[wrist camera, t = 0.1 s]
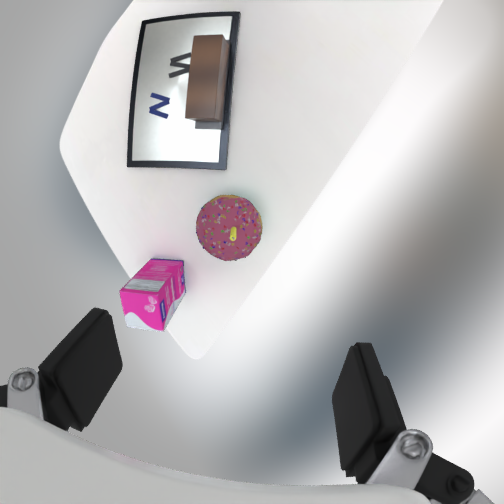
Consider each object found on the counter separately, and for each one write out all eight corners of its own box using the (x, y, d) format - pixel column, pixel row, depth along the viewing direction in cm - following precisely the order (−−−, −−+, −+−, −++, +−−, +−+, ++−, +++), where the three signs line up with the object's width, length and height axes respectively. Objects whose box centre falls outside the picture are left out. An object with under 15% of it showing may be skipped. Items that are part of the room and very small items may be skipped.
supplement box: (187, 292, 45) (163, 334, 35) (154, 289, 46) (124, 327, 35) (185, 259, 43) (157, 295, 33) (150, 257, 44) (116, 290, 33)
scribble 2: (171, 54, 32) (170, 53, 31) (192, 52, 31) (191, 52, 31) (168, 78, 33) (167, 77, 33) (189, 77, 33) (188, 76, 32)
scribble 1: (151, 92, 34) (150, 92, 34) (170, 91, 34) (170, 91, 33) (148, 119, 35) (148, 119, 35) (168, 118, 35) (167, 118, 35)
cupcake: (243, 178, 38) (228, 191, 27) (275, 229, 40) (274, 262, 29) (193, 210, 41) (162, 235, 29) (225, 258, 43) (207, 298, 32)
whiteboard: (144, 22, 30) (141, 20, 29) (240, 13, 29) (239, 10, 29) (129, 166, 39) (126, 167, 38) (226, 169, 38) (225, 170, 37)
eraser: (205, 42, 31) (194, 28, 26) (231, 42, 31) (223, 27, 25) (196, 128, 35) (183, 126, 30) (222, 129, 35) (213, 126, 30)
